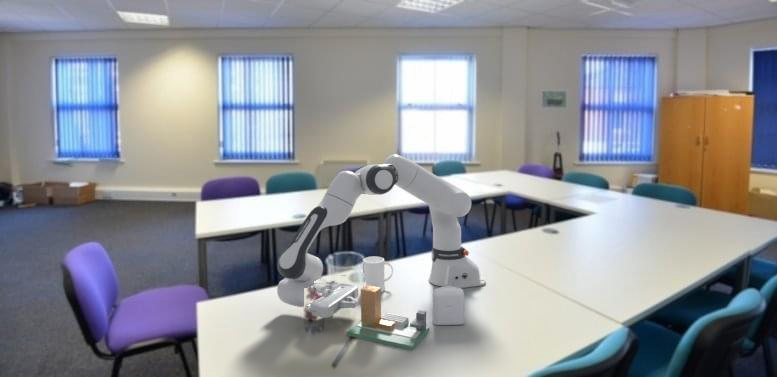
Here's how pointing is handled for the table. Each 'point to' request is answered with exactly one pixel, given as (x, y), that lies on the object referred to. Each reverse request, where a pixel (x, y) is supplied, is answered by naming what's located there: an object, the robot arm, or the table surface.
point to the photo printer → (448, 306)
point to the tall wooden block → (373, 309)
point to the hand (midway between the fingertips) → (356, 304)
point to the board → (394, 331)
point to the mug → (375, 271)
